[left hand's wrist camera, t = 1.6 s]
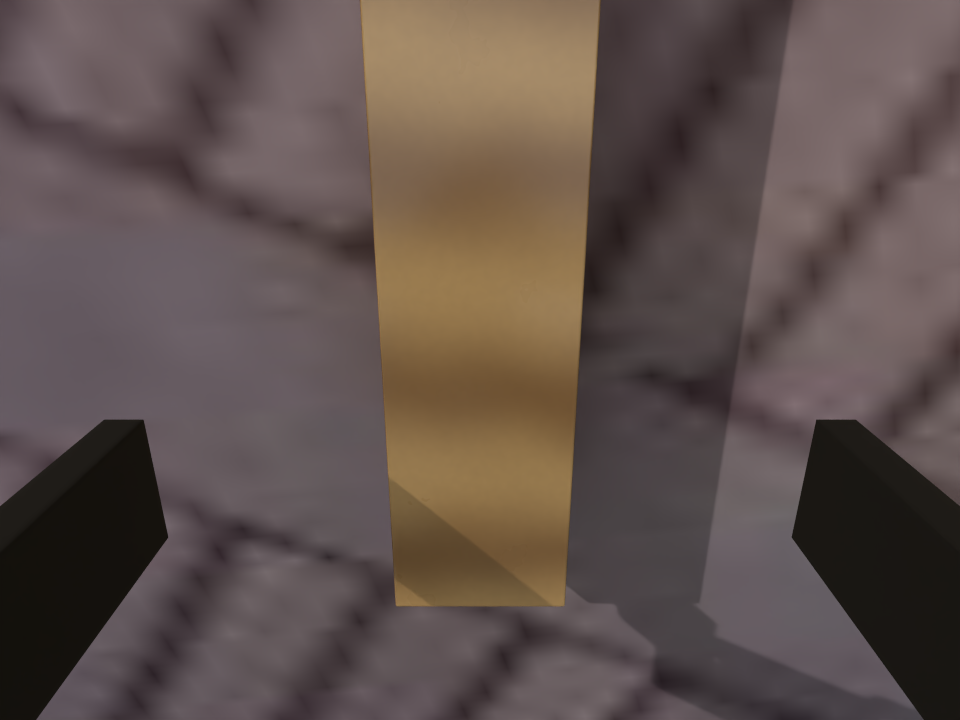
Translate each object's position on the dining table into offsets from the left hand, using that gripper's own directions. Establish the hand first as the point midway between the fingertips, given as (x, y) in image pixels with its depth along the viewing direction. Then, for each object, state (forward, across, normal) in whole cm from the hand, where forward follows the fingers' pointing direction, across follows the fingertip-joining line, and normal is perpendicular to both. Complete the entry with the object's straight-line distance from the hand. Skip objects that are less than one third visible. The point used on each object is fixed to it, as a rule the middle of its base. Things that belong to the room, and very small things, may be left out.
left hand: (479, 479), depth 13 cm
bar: (+12, 0, -26) cm, 29 cm away
